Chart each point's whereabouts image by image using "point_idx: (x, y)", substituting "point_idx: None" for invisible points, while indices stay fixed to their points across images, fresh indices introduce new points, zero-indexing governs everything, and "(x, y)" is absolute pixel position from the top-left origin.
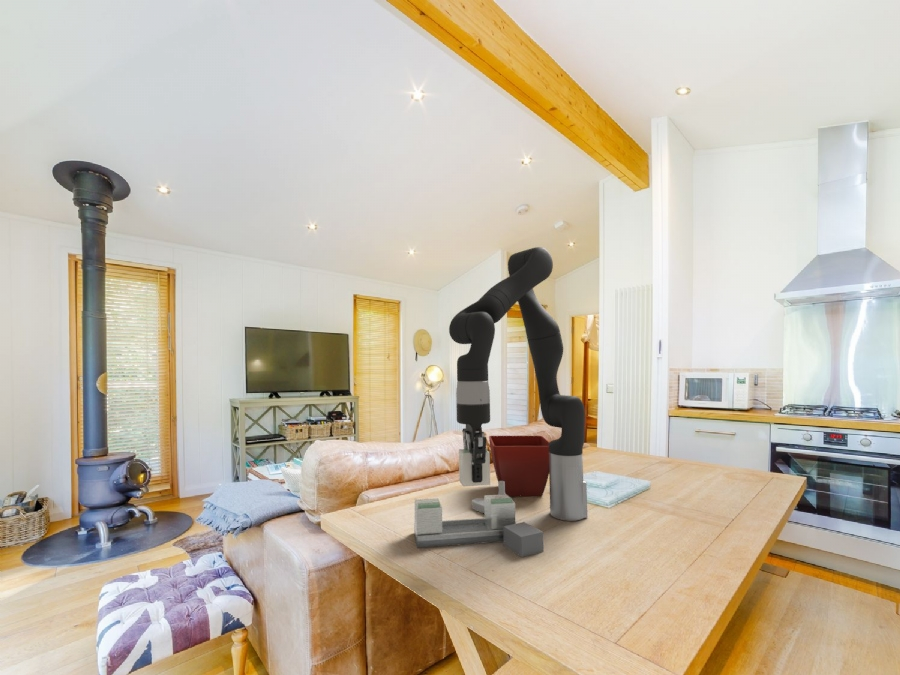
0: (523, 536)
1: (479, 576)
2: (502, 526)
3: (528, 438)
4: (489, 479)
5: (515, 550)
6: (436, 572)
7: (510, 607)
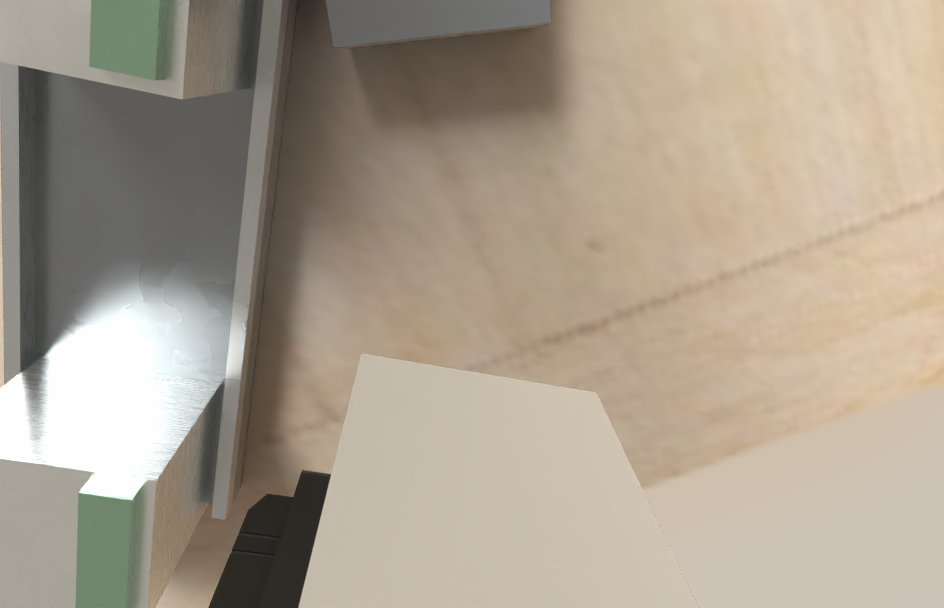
0: (548, 2)
1: (617, 324)
2: (245, 4)
3: None
4: (610, 430)
5: (472, 34)
6: None
7: (879, 311)
